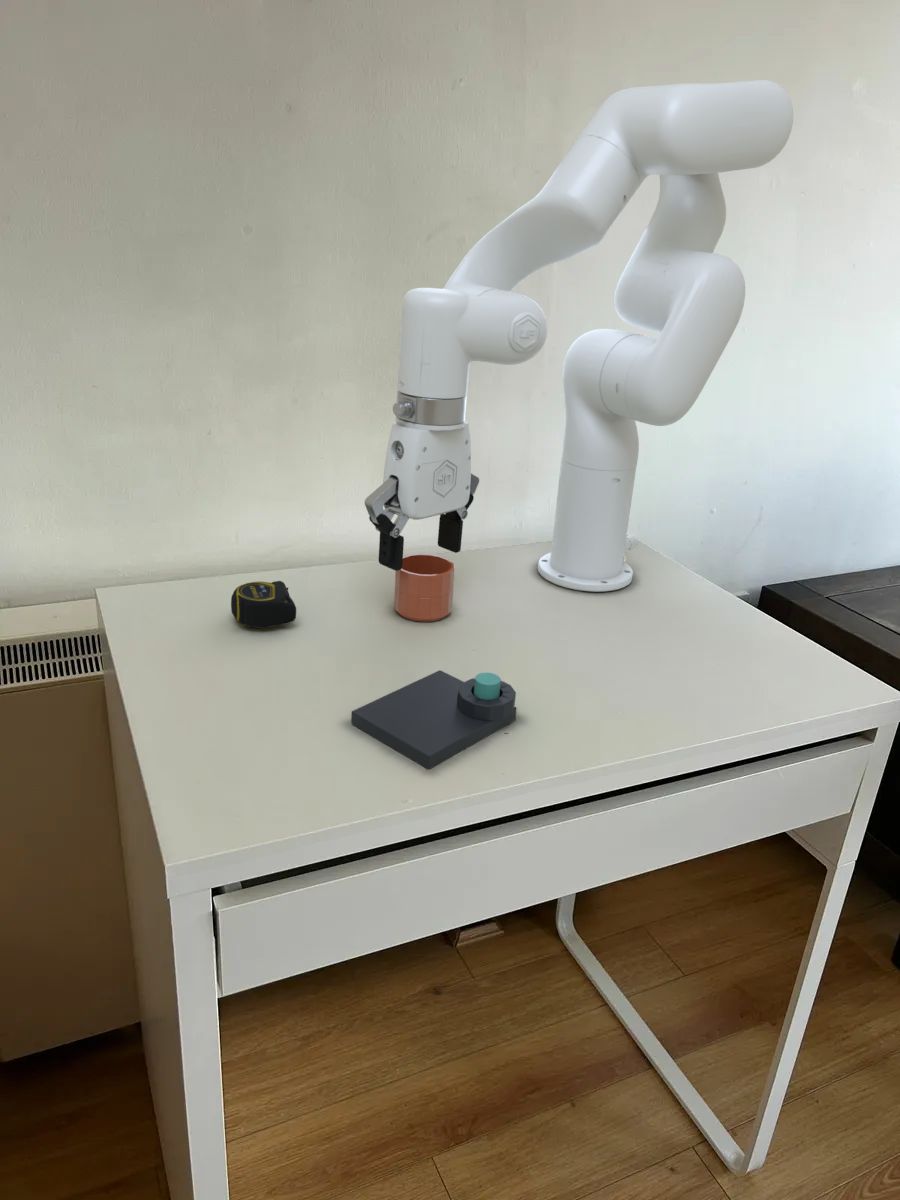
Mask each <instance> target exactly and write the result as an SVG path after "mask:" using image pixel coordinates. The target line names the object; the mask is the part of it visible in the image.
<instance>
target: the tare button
mask: <svg viewBox="0 0 900 1200" xmlns="http://www.w3.org/2000/svg"><path fill="white" fill-rule="evenodd" d="M474 678H475V686H474V695H475V696H476V697H478V698H480V699H486V700H491V699H497V698H499V694H500V683H501V681H502V679H501V677H500V676H499V675H498V674H496V673H493V672H480V673H477V674H476V675H475V677H474Z"/></svg>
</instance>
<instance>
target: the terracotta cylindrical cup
mask: <svg viewBox="0 0 900 1200" xmlns="http://www.w3.org/2000/svg"><path fill="white" fill-rule="evenodd" d="M394 573H395V575H394V577H395V578H394V602H393V603H394V604H393V608H394V610H395V611H396V612H397V613H398V614H399V615H400V616H401V617H403V618H404V619H407V620H410V621H414V622H421V623H422V622H423V623H425V622H426V623H428V622H429V623H430V622H436V621H440V620H442V619H444V618H445V617H446V616H449V614H450V613H451V612H452V611H453V599H454V598H453V597H454V581H455V563H454V562H453V561H452V560H450V559H449V558H447V557H444V556H442V555H437V554H431V553H414V554H407V555H403V562H402V569H401V570H398V571H395V572H394Z"/></svg>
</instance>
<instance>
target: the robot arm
mask: <svg viewBox="0 0 900 1200" xmlns="http://www.w3.org/2000/svg"><path fill="white" fill-rule="evenodd" d="M793 125H794V109H793V104H792V101H791V98H790V96H789V94H788V92H787V91H786V89H785V88H784V87H783V86H782V85H780V84H779V83H778V82H776V81H772V80H770V79H753V80H741V81H731V82H730V81H729V82H713V83H708V82H707V83H700V82H698V83H697V82H696V83H693V82H688V83H686V82H685V83H684V82H683V83H669V84H658V85H644V86H643V85H642V86H633V87H627V88H624V89H620V90H618V91H616V92H614V93H612V94H611V95H610V96H609V97H607V98H606V99H605V100H604V101H603V102H602V103H601V104H600V106H599V107H598V109H597V110H596V111H595V113H593V116H592V117H591V118H590V119H589V121H588V123H587V124H586V126H585V127H584V128H583V130H582V131H581V132H580V134H579V135H578V137H577V138H576V140H575V141H574V143H573V144H572V145H571V147H570V148H569V150H568V152H567V153H566V155H564V157H563V159H562V160H561V161H560V163H559V164H558V166H557V167H556V169H555V170H554V172H553V173H552V175H551V176H550V178H549V179H548V180H547V182H546V183H545V184H544V185H543V187H542V189H540V190H539V192H538V193H537V194H536V195H535V196H534V197H533V198H531V199H530V200H529V201H528V202H526V203H524V204H523V205H521V206H520V207H519V208H517V209H516V210H515V211H513V212H512V213H511V214H510V215H508V216H507V217H506V218H505V219H504V220H502V221H501V222H500V223H498V224H497V225H496V226H494V227H493V228H491V230H489V231H488V232H487V233H486V234H485V235H483V236H482V237H480V238H479V240H478V241H477V242H476V243H475V244H474V245H473V246H472V247H471V248H470V249H469V251H468V252H467V253H466V254H465V256H464V257H463V259H462V260H461V261H460V263H458V265H457V267H456V269H455V270H454V271H453V273H452V274H451V275H450V277H449V278H448V280H447V282H446V283H445V285H444V287H443V288H437V287H436V288H435V287H417V288H412V289H410V290H408V291H407V292H406V293H405V294H404V297H403V299H402V303H401V305H402V306H401V314H400V315H401V316H400V332H399V333H400V335H399V353H398V369H397V370H398V371H397V386H396V388H397V390H396V402H395V403H394V404H393V406H392V412H393V414H394V415H395V421H394V422H392V424H391V429H390V433H389V438H388V443H387V449H386V453H385V454H386V455H385V461H384V468H383V480H382V484H381V485H380V486H379V487H377V488H376V489H375V490H374V491H372V493H370V494H369V495H368V496H367V497H365V499H364V507H365V508H366V511H367V513H368V515H369V516H368V517H369V518H368V519H369V521H370V522H371V523H372V525H373V526H374V527H375V530H376V532H379V544H378V545H379V546H378V563H379V564H380V565H381V566H384V567H386V568H388V569H390V570H393V571H395V572H396V571H398V570H401V569H402V562H403V557H404V546H405V544H404V543H405V538H404V535H400V534H401V533H402V531H403V530H404V528H405V527H406V525H407V523H408V522H409V520H410V519H411V520H415V521H417V520H423V519H428V518H432V517H436V516H439V521H438V533H437V546H438V547H440V548H442V549H445V550H447V551H449V552H452V553H455V554H457V553H459V552H461V549H462V537H463V528H464V527H463V526H464V520H466V519H467V517H468V513H469V512H468V510H469V508H470V507H471V505H472V503H473V502H474V499H475V498H474V497H475V496H474V495H475V493H476V491H477V488H478V486H479V483H480V478H479V477H478V476H477V475H475V474H473V473H472V442H471V431H470V425H469V422H468V421H467V420H466V412H467V411H466V409H467V400H468V389H469V380H470V379H469V378H470V377H469V376H470V366H471V363H472V362H482V363H489V364H494V365H499V366H500V365H501V366H515V365H516V366H517V365H521V364H523V363H526V362H528V361H530V360H531V359H533V358H534V357H535V356H536V355H537V354H539V352H540V351H541V350H542V348H543V347H544V345H545V343H546V341H547V337H548V329H549V328H548V320H547V317H546V314H545V312H544V310H543V309H542V307H541V306H540V305H539V304H538V303H537V302H536V301H535V300H534V299H532V298H530V297H529V296H527V295H524V294H522V293H519V292H514V291H513V290H514V289H515V288H516V287H517V286H518V285H519V284H521V282H522V281H524V280H526V279H527V278H528V277H530V276H531V275H532V274H534V273H536V272H538V271H539V270H542V269H543V268H546V267H549V266H550V265H554V264H555V263H559V262H562V261H565V260H568V259H571V258H574V257H577V256H578V255H581V254H583V253H585V252H587V251H589V250H591V249H593V248H595V247H596V246H598V245H599V244H600V243H601V242H602V241H603V240H604V238H605V236H606V235H607V234H608V232H609V231H610V229H611V228H612V226H613V225H614V224H615V222H616V221H617V220H618V218H619V216H620V215H621V214H622V212H623V211H624V209H626V208H625V207H626V206H627V205H628V204H629V202H630V201H631V199H632V198H633V196H634V194H635V193H636V192H637V190H639V188H640V186H642V183H643V182H644V181H645V180H646V178H648V177H649V176H653V175H656V176H657V175H659V196H658V200H657V203H656V207H655V209H654V211H653V214H652V216H651V218H650V220H649V222H648V224H647V226H646V227H645V229H644V231H643V233H642V235H641V237H640V239H639V241H638V243H637V244H636V246H635V248H634V250H633V252H632V254H631V256H630V258H629V259H628V262H627V264H626V265H625V268H624V270H623V271H622V273H621V276H620V278H619V279H618V282H617V284H616V287H615V291H614V295H613V304H614V305H613V306H614V310H615V312H616V314H617V315H618V317H619V318H620V319H621V320H622V321H623V322H624V323H626V324H628V325H630V326H633V327H635V328H637V329H642V330H646V331H649V332H653V333H659V336H658V338H655V337H651V336H646V335H643V334H639V333H635V332H629V331H624V330H619V329H614V328H613V329H612V328H597V329H593V330H589V331H587V332H585V333H583V334H581V335H580V336H578V338H576V339H575V340H574V341H573V342H572V343H571V345H570V347H569V348H568V350H567V352H566V354H565V356H564V360H563V366H562V391H563V402H564V403H563V404H564V427H563V428H564V430H563V439H562V440H563V442H562V451H561V458H560V459H561V460H560V468H559V478H558V487H557V496H556V503H555V504H556V505H555V513H554V524H553V532H552V542H551V550H550V551H549V552H547V553H545V554H543V555H542V556H541V557H540V558H539V560H538V562H537V571H538V573H539V574H540V576H541V577H542V578H544V579H545V580H547V581H548V582H550V583H552V584H555V585H557V586H559V587H562V588H566V589H571V590H575V591H583V592H593V593H595V592H597V593H598V592H603V593H604V592H612V591H617V590H620V589H623V588H625V587H627V586H629V585H630V584H631V583H632V581H633V576H634V569H633V568H632V566H631V565H630V564H629V563H627V562H626V561H624V559H625V554H627V553H628V551H630V550H633V549H635V548H637V547H638V545H639V539H638V537H637V536H636V535H634V534H629V535H628V528H629V521H630V514H631V508H632V507H631V506H632V500H633V492H634V485H635V479H636V472H637V465H638V459H639V451H640V438H639V433H638V428H637V427H638V426H637V422H638V423H643V424H647V425H650V426H655V427H657V426H658V427H666V426H669V425H672V424H675V423H677V422H678V421H680V420H681V419H682V418H683V417H684V416H686V414H688V412H689V411H690V410H691V409H692V407H693V406H694V404H695V403H696V401H697V399H698V398H699V397H700V394H701V393H702V391H703V390H704V388H705V386H706V384H707V382H708V380H709V378H710V377H711V374H712V373H713V371H714V369H715V367H716V365H717V364H718V362H719V360H720V359H721V357H722V355H723V353H724V352H725V349H726V348H727V346H728V344H729V342H730V340H731V338H732V337H733V335H734V332H735V330H736V328H737V326H738V324H739V322H740V319H741V317H742V314H743V310H744V306H745V300H746V282H745V277H744V273H743V272H742V270H741V268H740V266H739V265H738V264H737V263H736V262H735V261H734V260H732V259H731V258H729V257H727V256H725V255H722V254H719V253H714V251H715V249H716V247H717V245H718V243H719V241H720V239H721V237H722V234H723V232H724V228H725V224H726V220H727V206H726V205H727V204H726V200H725V196H724V191H723V188H722V184H721V179H720V177H719V176H720V175H719V174H720V173H726V172H727V173H728V172H732V171H742V170H750V169H756V168H760V167H763V166H764V165H766V164H768V163H770V162H771V161H773V160H774V159H775V158H777V156H778V155H779V154H780V153H781V152H782V151H783V149H784V148H785V147H786V144H787V142H788V140H789V139H790V136H791V132H792V129H793ZM395 515H396V516H397V517H396V518H395V520H394V522H393V521H392V520H393V517H394V516H395Z"/></svg>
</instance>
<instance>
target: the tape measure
mask: <svg viewBox="0 0 900 1200" xmlns="http://www.w3.org/2000/svg"><path fill="white" fill-rule="evenodd" d="M230 609H231V610H230V611H231V614H232V616H233V617H234V619H235V620H236V621H237V622H238V623H240V624H242V625H244V626H247V627H250V628H258V629H260V628H261V629H265V628H271V627H276V626H280V625H285V624H290V623H293V622H294V621H295V620H296V618H297V607H296V603H295V602H294V600H293V599H292V597H291V595H290V592H289V587H287V586H286V583H285V582H284V581H282V580H278V581H277V580H275V581H272V582H268V581H250V582H246V583H244V584H240V585H239V586H238V587H236V588H235V589H234V590H233V593H232V595H231V597H230Z"/></svg>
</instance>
